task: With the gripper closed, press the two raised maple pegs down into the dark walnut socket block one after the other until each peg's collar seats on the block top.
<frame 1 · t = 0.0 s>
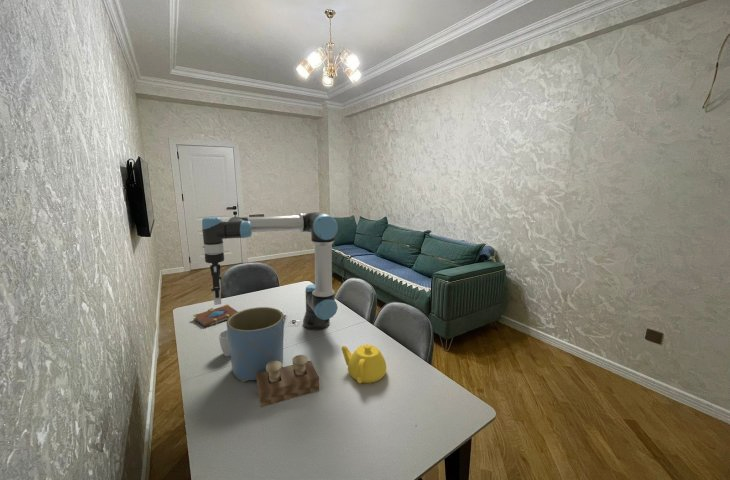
hand: (217, 298, 137), 28 cm above the table, fingers open, 13 cm apart
teapot: (362, 374, 131), on the table
book: (220, 317, 181), on the table
peg b: (274, 373, 117), point 8 cm above the table, slide at 4.5 cm
peg a: (300, 367, 121), point 8 cm above the table, slide at 4.5 cm
planter: (258, 368, 133), on the table
socket block: (288, 388, 120), on the table
cup: (229, 353, 144), on the table
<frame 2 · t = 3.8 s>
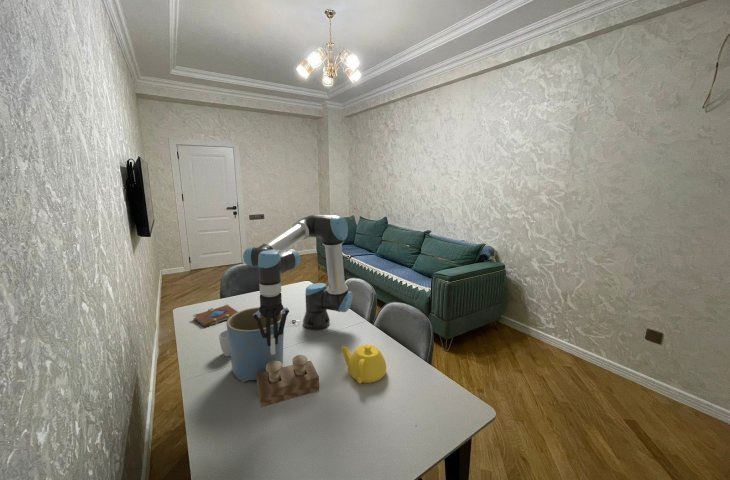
hand: (272, 352, 115), 17 cm above the table, fingers closed
nothing on the table moved.
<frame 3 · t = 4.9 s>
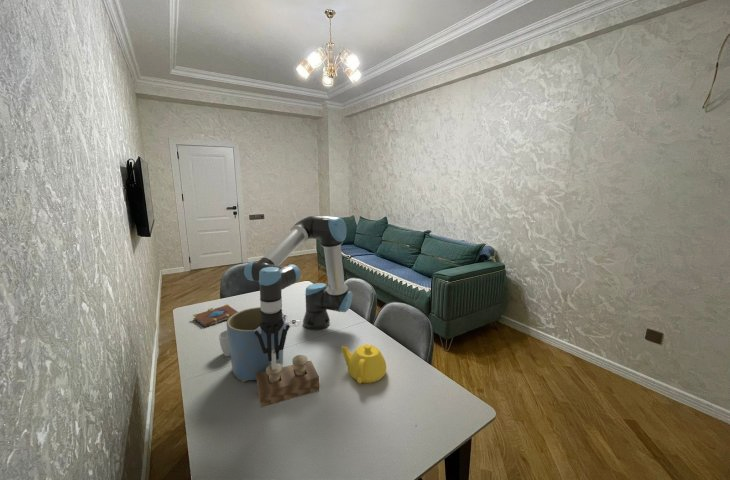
hand: (273, 367, 116), 11 cm above the table, fingers closed
peg b: (274, 376, 117), point 7 cm above the table, slide at 3.4 cm, touching gripper
everything else where it was.
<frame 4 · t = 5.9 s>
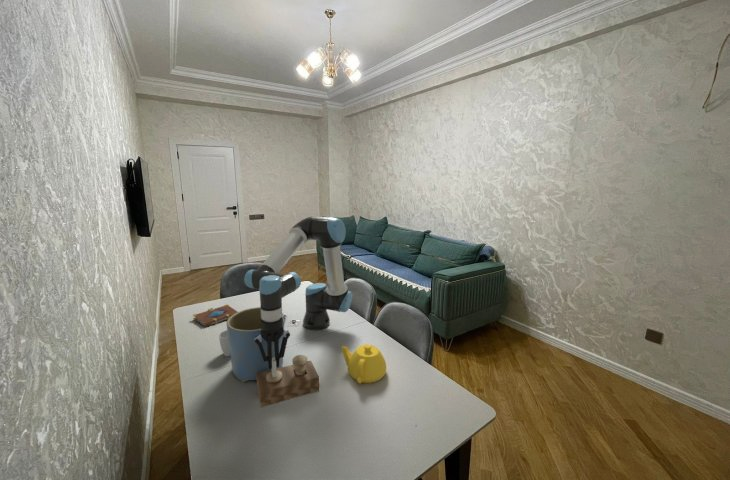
hand: (274, 374, 117), 8 cm above the table, fingers closed
peg b: (274, 383, 118), point 4 cm above the table, slide at 0.2 cm, touching gripper
everything else where it was.
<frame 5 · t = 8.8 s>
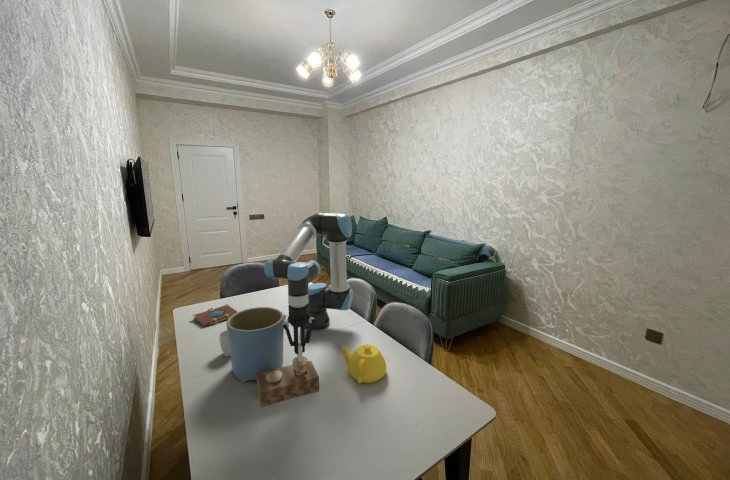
hand: (299, 359, 120), 11 cm above the table, fingers closed
peg b: (274, 383, 118), point 4 cm above the table, slide at 0.2 cm
peg a: (300, 368, 121), point 8 cm above the table, slide at 3.9 cm, touching gripper
everything else where it was.
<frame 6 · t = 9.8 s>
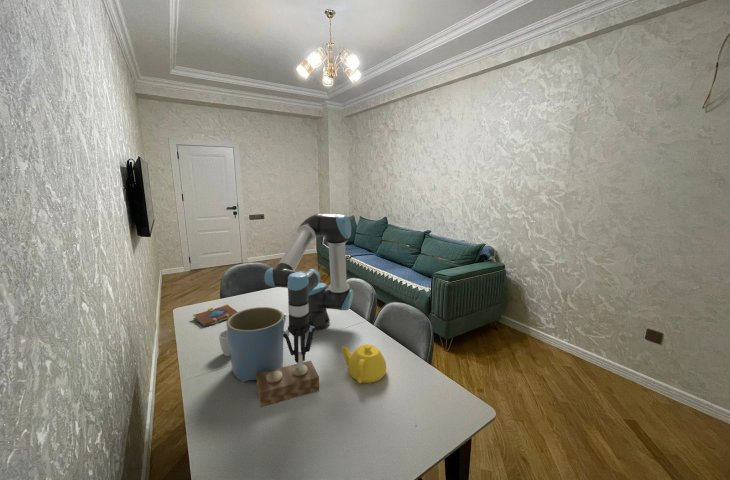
hand: (300, 368, 121), 8 cm above the table, fingers closed
peg a: (300, 376, 122), point 4 cm above the table, slide at 0.2 cm, touching gripper
everything else where it was.
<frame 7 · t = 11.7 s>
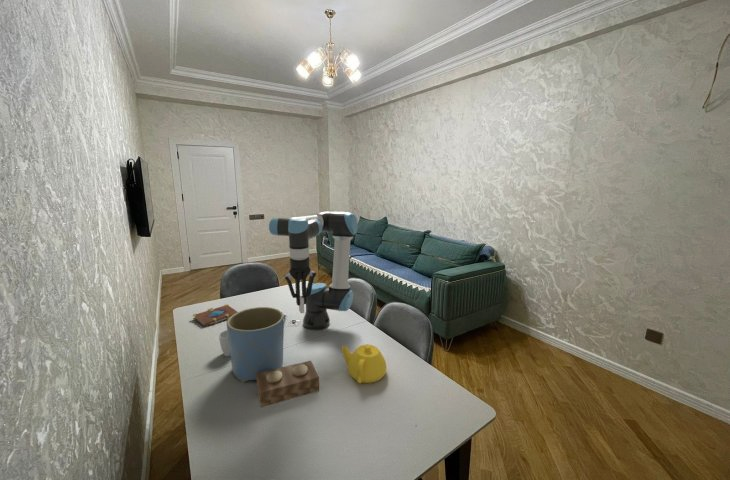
hand: (301, 311, 127), 27 cm above the table, fingers closed
peg a: (300, 376, 122), point 4 cm above the table, slide at 0.2 cm
everything else where it was.
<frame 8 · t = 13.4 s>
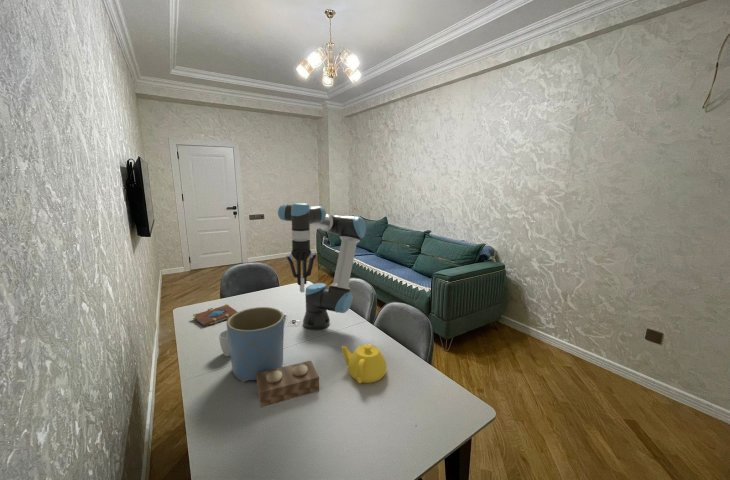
hand: (302, 291, 135), 32 cm above the table, fingers closed
nothing on the table moved.
at the end: peg a slide at 0.2 cm; peg b slide at 0.2 cm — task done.
